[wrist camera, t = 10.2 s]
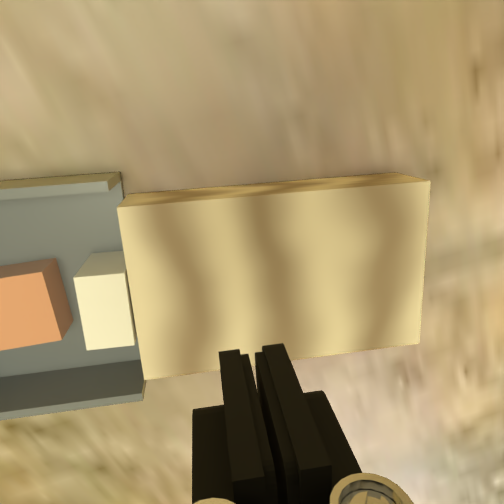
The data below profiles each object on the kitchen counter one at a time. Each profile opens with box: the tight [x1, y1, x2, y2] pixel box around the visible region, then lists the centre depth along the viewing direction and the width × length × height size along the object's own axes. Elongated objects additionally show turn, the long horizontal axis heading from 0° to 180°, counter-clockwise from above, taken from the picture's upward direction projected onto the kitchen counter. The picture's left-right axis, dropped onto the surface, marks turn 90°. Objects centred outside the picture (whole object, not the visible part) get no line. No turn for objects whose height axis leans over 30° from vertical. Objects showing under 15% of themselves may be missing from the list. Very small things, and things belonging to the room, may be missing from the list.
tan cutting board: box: [117, 172, 431, 380], centre depth 30 cm, size 20×12×5 cm, turn 94°
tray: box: [0, 172, 146, 420], centre depth 28 cm, size 12×15×5 cm
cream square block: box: [73, 251, 137, 350], centre depth 29 cm, size 5×5×3 cm
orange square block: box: [0, 258, 73, 351], centre depth 29 cm, size 5×5×3 cm
